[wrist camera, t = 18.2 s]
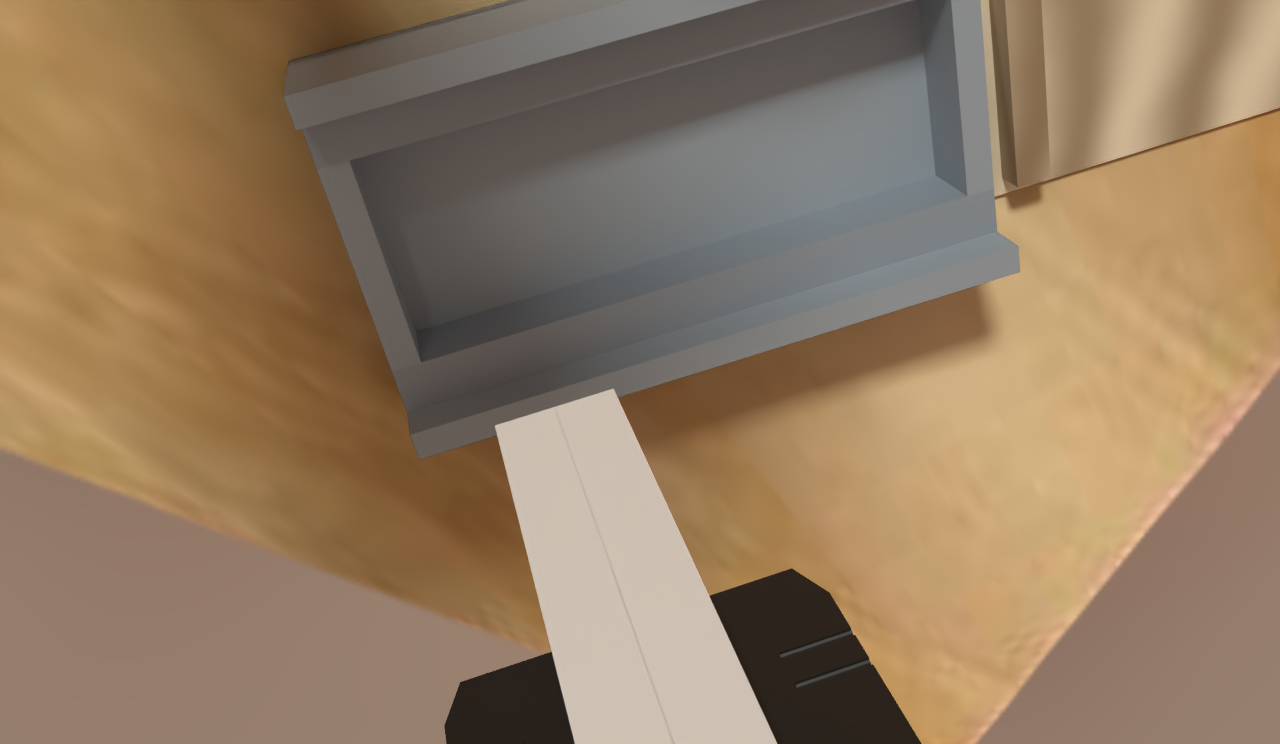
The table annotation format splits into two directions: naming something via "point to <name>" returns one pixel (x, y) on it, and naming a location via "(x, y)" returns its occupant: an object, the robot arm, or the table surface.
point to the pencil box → (645, 188)
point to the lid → (1119, 77)
